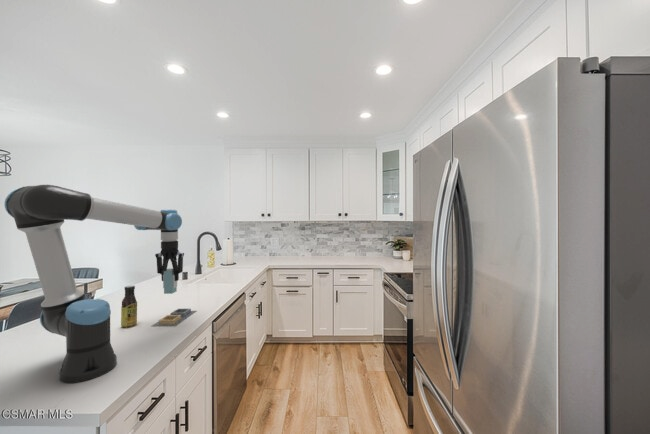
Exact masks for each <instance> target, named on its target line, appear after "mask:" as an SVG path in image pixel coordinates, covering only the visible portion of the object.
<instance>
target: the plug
mask: <svg viewBox="0 0 650 434" xmlns="http://www.w3.org/2000/svg"><path fill="white" fill-rule="evenodd" d="M173 274H174V271H173V268H167V270H166V271H164V288H163V294H165V295H166V294H168V295H169V294H175V293H176V292H177V291H178V288H177V287H178V286H177V287H176V288H173Z"/></svg>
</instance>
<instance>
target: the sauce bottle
mask: <svg viewBox="0 0 650 434" xmlns="http://www.w3.org/2000/svg"><path fill="white" fill-rule="evenodd" d="M135 289H136V286H135V285H127V286H124V297H123V299H122V300H121V307H120V308H121V309H120V310H121V311H120V313H121V314H120V315H121V317H120V318H121V319H120V326H121V327H120V328H121V329H131V328H133V327H135V326H137V324H138V301H137V299H136V296H135Z"/></svg>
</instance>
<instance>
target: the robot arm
mask: <svg viewBox="0 0 650 434" xmlns="http://www.w3.org/2000/svg"><path fill="white" fill-rule="evenodd" d="M4 208H5V211H6V212H7V214H8V215H10V217H12V218H13V219H14V222H15V226H16V229H17V230H18V231H21V232H24V233H25V236H26V238H27V239H26V240H27V243H28V246H29V249H30V253H31V256H32V259H33V262H34V265H35V268H36V273H37V276H38V279H39V283H40V285H41V289H42V292H43V296H44V300H43V301H42V302H41V303H40V308H41V310H42V311H41V313H40V316H39V322H40V325H41V326H42V327H43V329H45V330H46V331H47V332H49V333H51V334H56V335H59V336H61V337H65V340H66V341H65V343H66V346H65V347H66V354H65V357H64V358H63V362H62V364H61V367H60V370H59V372H58V373H59V374H58V378H59V381H60V382H62V383H66V384H67V383H68V384H69V383H70V384H72V383H79V382H85V381H89V380H92V379H95V378H98V377H100V376H103V375H105V374H107V373H108V372H110V371H111V370H113V369H114V368H115V367H116V365H117V362H118V361H117V358H118V357H117V355H116V354H115V350H114V348H113V346H112V343H111V306H110V303H109V302H108V301H106V300H105V299H99V298H96V299H94V298H89V299H86V297H85V293H84V291H83V290H80V289H78V288H77V284H76V281H75V277H74V273H73V270H72V265H71V262H70V258H69V254H68V251H67V247H66V245H65V240H64V237H63V233H62V230H61V227H62V226H63V224H64V223H65V220H67V221H68V220H69V221H71V220H72V221H80V222H83V221H84V220H94V221H101V222H107V223H116V224H122V225H130V226H134V228H135V229H136V230H137V231H150V230H151V231H160V240H161V242H160V249H161V250H160V252H159V253H155V254H154V256H155V259H156V273H157V274H159V275H161V282H162V289H164V271H166V270H167V269H168V264H169V261H170V262H171V265H172V269H173V271H174V274H173V288H176V287H178V281H179V280H180V279H179V277H180V276H179V275H180V274H181V273H183V267H184V255H185V253H184V252H180V250H179V241H178V240H179V229H180V228H181V226H182V225H183V219H182V217H181V215H180V214H179V213H178V210H176V209H161V210H160V211H159V210H155V209H149V208H146V207H145V208H144V207H139V206H135V205H130V204H124V203H120V202H115V201H111V200H105V199H102V198H101V199H100V198H95V197H93V196H92V195H91V194H90V193H86V192H81V191H77V190H73V189H70V188H67V187H62V186H58V185H53V184H37V185H28V186H22V187H19V188H17V189H16V188H15V190H13V191H11V192H10V193H9V194H7V196H6V198H5V200H4Z"/></svg>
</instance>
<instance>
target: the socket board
mask: <svg viewBox="0 0 650 434" xmlns="http://www.w3.org/2000/svg"><path fill="white" fill-rule="evenodd" d="M196 312H198V310H192V308H177V309H175V310H173V311H172V312H170V314H166V315H165V316H163V317H162V318H160V319H159V320H158V321H157V322H155V323H154V324H152V325H150V327H152V328H153V327H159V328H160V327H163V328H164V327H167V328H169V327H177V326H178V325H180V324H181V323H183V322H184V321H185V320H187V319H188V318H190V317H191V316H192V315H194V314H196Z"/></svg>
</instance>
